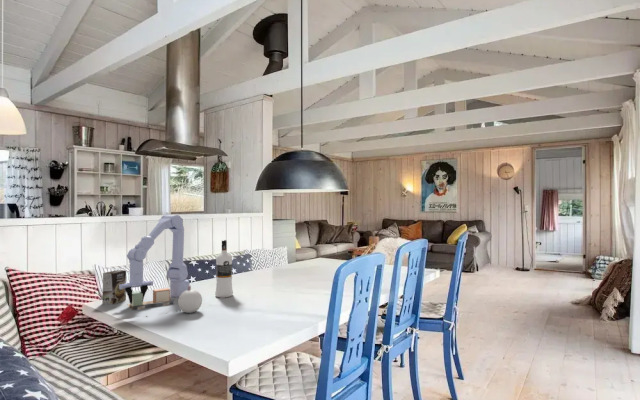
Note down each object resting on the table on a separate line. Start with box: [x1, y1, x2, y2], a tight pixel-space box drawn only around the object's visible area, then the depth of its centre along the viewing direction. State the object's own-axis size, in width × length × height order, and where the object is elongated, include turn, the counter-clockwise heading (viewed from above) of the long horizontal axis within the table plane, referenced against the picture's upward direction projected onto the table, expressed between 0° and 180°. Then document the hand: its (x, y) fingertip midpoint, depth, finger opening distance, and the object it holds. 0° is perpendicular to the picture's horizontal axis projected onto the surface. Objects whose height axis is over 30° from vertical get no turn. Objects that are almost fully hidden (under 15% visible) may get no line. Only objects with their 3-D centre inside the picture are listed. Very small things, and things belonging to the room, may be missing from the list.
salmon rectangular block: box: [152, 287, 171, 303], centre depth 189 cm, size 4×7×6 cm, turn 127°
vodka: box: [214, 239, 234, 299], centre depth 206 cm, size 9×9×30 cm
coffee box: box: [102, 269, 127, 305], centre depth 190 cm, size 9×6×16 cm
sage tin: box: [129, 290, 144, 307], centre depth 182 cm, size 4×7×6 cm, turn 37°
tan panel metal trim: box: [127, 300, 174, 311], centre depth 184 cm, size 18×13×3 cm
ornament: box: [177, 285, 203, 314], centre depth 174 cm, size 10×10×12 cm
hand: (136, 302), depth 182 cm, fingers closed on sage tin, 4 cm apart
